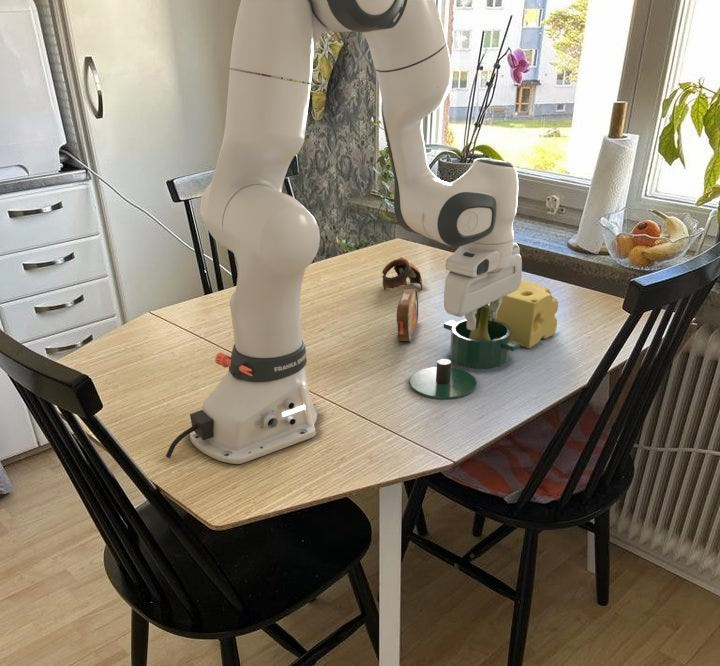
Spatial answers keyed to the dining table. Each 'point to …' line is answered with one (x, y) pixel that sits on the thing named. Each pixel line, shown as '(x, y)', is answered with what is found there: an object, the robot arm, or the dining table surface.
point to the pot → (480, 345)
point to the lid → (443, 381)
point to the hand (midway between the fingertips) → (481, 324)
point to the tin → (407, 314)
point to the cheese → (529, 313)
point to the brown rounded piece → (401, 274)
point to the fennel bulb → (481, 324)
